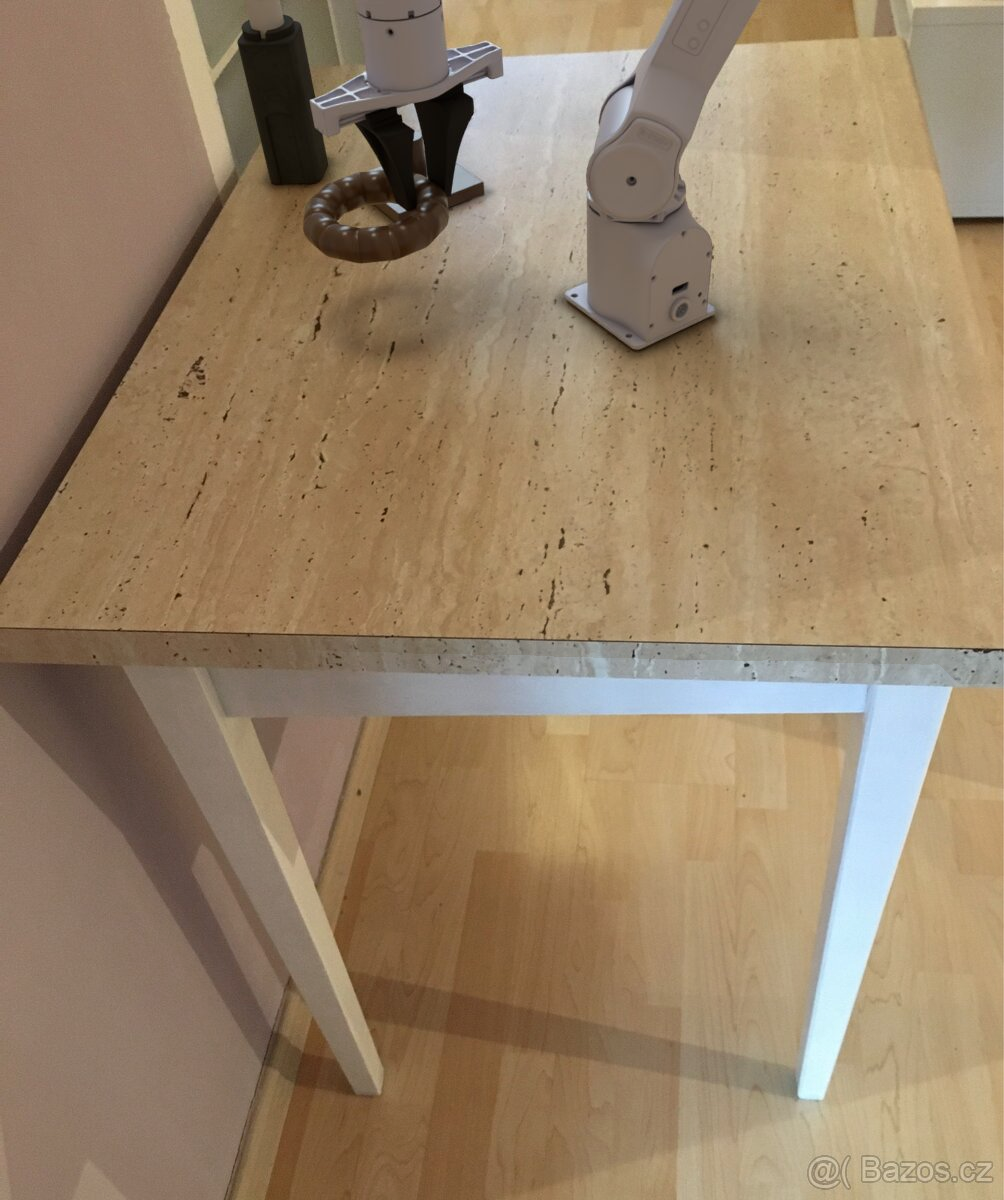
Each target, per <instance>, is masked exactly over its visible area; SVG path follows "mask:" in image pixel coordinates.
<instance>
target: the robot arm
mask: <svg viewBox="0 0 1004 1200" xmlns="http://www.w3.org/2000/svg"><path fill="white" fill-rule="evenodd" d="M760 2H761V0H674V1H673V2H672V4H671V6H670V8H669V10H668V12H667V14H666V16H665V18H664V20H663V22H662V23H661V26H660V28H659V30H658V32H657V34H656V36H655V38H654V40H653V42H652V43H651V44H650V45H649V46H648V47H647V48H646V49H645V51H644V52H643V53H642V55H641V56H640V59H639V60H638V62H637V64H636V66H635V68H634V70H633V71H632V72H631V74H630V75H629V76H628V77H627V78H626V79H624V80H623V81H622V82H620V83H619V84H617V86H615V87H614V88H613V89H612V90H611V91H610V92H609V93H608V94H607V95H606V97H605V99H604V100H603V102H602V105H601V108H600V111H599V117H598V130H597V134H596V137H595V138H596V139H595V143H594V147H593V152H592V154H591V155H590V157H589V159H588V163H587V167H586V170H585V171H586V172H585V173H586V174H585V180H586V181H585V182H586V187H587V188H586V282H584V283H581V284H579V285H577V286H575V287H572V288H570V289H568V290H565V291H564V299H565V300H566V301H568V302H569V303H570V304H572V305H573V306H574V307H576V308H577V309H578V310H580V311H581V312H582V313H584V314H585V315H587V317H589V318H591V319H592V320H593V321H594V322H596V323H597V324H598V325H600V326H601V327H602V328H604V329H605V330H606V331H608V332H609V333H611V334H612V335H614V336H615V337H616V338H617V339H618V340H620V341H621V342H622V343H624V344H625V345H627V346H628V347H629V348H631V349H632V350H635V351H639V350H641V349H642V350H643V349H644V348H646V347H649V346H650V345H652V344H655V343H657V342H658V341H661V340H663V339H666V338H667V337H669V336H672V335H674V334H676V333H678V332H680V331H682V330H684V329H687V328H688V327H691V326H692V325H695V324H698V323H699V322H701V321H703V320H706V319H708V318H710V317H712V316H714V315H715V314H716V308H715V307H714V306H713V305H712V304H710V303H709V295H710V284H711V273H712V263H713V261H712V260H713V252H714V251H713V241H712V237H711V236H710V233H709V232H708V231H707V230H706V229H705V227H703V226H702V225H701V224H700V223H699V222H698V221H697V219H696V218H695V217H694V215H693V214H692V212H691V210H690V208H689V204H688V201H687V197H686V196H687V185H686V181H685V180H684V179H682V177H681V174H680V163H681V159H682V157H683V154H684V153H685V150H686V148H687V147H688V145H689V143H690V142H691V139H692V137H693V135H694V133H695V129H696V126H697V124H698V122H699V119H700V115H701V113H702V110H703V107H704V105H705V102H706V99H707V97H708V95H709V92H710V91H711V88H712V86H713V85H714V83H715V81H716V80H717V78H718V77H719V75H720V72H721V71H722V69H723V68H724V65H725V64H726V62H727V60H728V58H730V57H729V56H730V55H731V53H732V51H733V50H734V48H735V46H736V44H737V42H738V41H739V39H740V37H741V36H742V34H743V32H744V30H745V29H746V27H747V25H748V23H749V21H750V20H751V18H752V16H753V15H754V13H755V11H756V9H757V7H758V6H759V4H760ZM354 3H355V9H356V14H357V21H358V27H359V35H360V42H361V47H362V53H363V60H364V66H365V71H363V72H362V73H359V74H358V75H357V76H355V77H353V78H351V79H349V80H348V81H346V82H344V83H342V84H341V85H339V86H337V87H336V88H334V89H332V90H331V91H328V92H327V93H324V94H322V95H319V96H318V97H315V98H314V99H311V100H310V106H311V111H312V116H313V121H314V126H315V128H316V129H317V130H319V131H320V132H321V133H322V134H323V136H326V137H327V138H330V137H334V136H337V135H340V134H341V129H342V128H346V127H348V126H351V125H353V124H354V125H355V126H356V128H357V129H358V130H359V132H360V133H361V134H362V136H363V137H364V139H365V140H366V142H367V144H368V145H369V146H370V148H371V150H372V151H373V153H374V155H375V157H376V159H377V161H378V162H379V164H380V166H382V168H383V170H384V172H385V175H386V177H387V179H388V182H389V184H390V187H391V189H392V192H393V195H394V198H395V201H396V203H397V204H398V205H400V206H401V207H402V208H404V209H405V210H406V211H408V212H410V211H413V210H416V202H417V196H416V189H415V182H414V176H413V140H414V133H415V132H416V130H415V129H414V128H412V127H411V126H410V125H408V124H406V123H405V122H403V115H402V114H399V113H398V109H400V108H403V107H406V106H408V105H410V104H413V106H414V110H415V114H416V116H417V121H418V124H419V129H420V133H421V134H422V138H423V145H424V151H425V160H426V169H427V176H428V179H429V180H430V181H432V182H433V183H434V184H436V185H437V186H439V187H440V188H441V189H442V190H443V191H444V192H445V194H446V196H447V197H449V196H451V193H452V185H453V178H454V172H455V166H456V163H457V161H458V156H459V152H460V148H461V145H462V142H463V139H464V136H465V132H466V130H467V128H468V126H469V124H470V122H471V120H472V118H473V116H474V115H475V104H474V103H475V102H474V97H472V96H471V95H469V94H468V93H466V92H465V86H466V85H468V84H471V83H474V82H477V81H480V80H482V79H486V78H488V79H489V80H496V79H499V78H502V77H504V76H505V75H504V63H503V62H504V61H503V49H502V48H501V47H500V46H498V45H496V44H494V43H492V42H490V41H488V40H484V41H481V42H478V43H474V44H470V45H464V46H459V47H458V46H457V47H453V48H452V47H451V48H448V46H447V36H446V26H445V25H446V24H445V16H444V7H443V5H444V4H443V0H354Z"/></svg>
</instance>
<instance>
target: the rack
mask: <svg viewBox="0 0 1004 1200" xmlns="http://www.w3.org/2000/svg"><path fill="white" fill-rule="evenodd" d="M378 170H383V168H382V166H381V165H380V166H378V167H375V168H372V169H370V170H367V171H366V172H368V171H378ZM413 173H415V174H420V175H422V176H424V177H426V178H427V179H428V176H427V169H426V160H425V151H424V143H423V138H422V133H421V131H415V133H414V140H413ZM484 194H485V183H484V181H483V180H482V179H481V178H479V177H477V176H476V175H474V174H473V173H472V172H470V171H469V170H467V168H464V167H463V166H462V165H460V164H458V163H457V162H456V166H455V172H454V178H453V185H452V193H451V196H449V197H447V200H448V209H449V208H451V207H454V206H456V205H459V204H463V203H464V202H467V201H470V200H472V199H475V198H477V197H480V196H482V195H484ZM373 206H375V207H376V208H377V209H379V210H380V211H381V212H382V213H384V214H385V215H386V216H387V217H388V218H390V219H391V220H392V221H393V222H394V223H395V222H397V221H400V220H402V219H405V218H407V217H409V216H410V215H411V214H412V213H413V212H414V211H415V210H413V211H410V212H408V211H406V210H405V209H404V208H402V207H401V206H400V205H398V204H394V203H384V204H374V205H373Z"/></svg>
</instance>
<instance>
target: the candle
mask: <svg viewBox="0 0 1004 1200" xmlns="http://www.w3.org/2000/svg"><path fill="white" fill-rule="evenodd" d="M244 3H245V7H246V11H247V15H248V20H246V21H245V22H243V23H242V25H241V34H240V35H239V37H238V38H237V41H236V44H237V48H238V51H239V55H240V60H241V64H242V68H243V73H244V77H245V81H246V85H247V89H248V93H249V97H250V102H251V106H252V110H253V114H254V118H255V122H256V126H257V131H258V135H259V140H260V143H261V147H262V151H263V157H264V160H265V165H266V168H267V173H268V177H269V181H270V182H271V183H272V184H274V185H280V186H281V185H283V184H285V185H289V184H290V185H291V184H293V185H294V184H295V185H296V184H306V185H312V184H316V183H318V182H320V181H321V180H322V179H323V176H324V174H325V172H326V170H327V167H328V166H329V161H328V155H327V150H326V146H325V145H326V143H325V140H324V134H322V133H321V132H320V131H319V130H317V129H316V128H315V126H314V121H313V116H312V111H311V106H310V100H311V99H314V98H316V93H315V88H314V83H313V77H312V73H311V67H310V62H309V58H308V53H307V47H306V41H305V37H304V31H303V27H302V24H301V23H300V22H299V21H297V20H294V18H293V17H291V16H290V15H287V14H283V9H282V4H281V0H244Z"/></svg>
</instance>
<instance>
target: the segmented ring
mask: <svg viewBox="0 0 1004 1200" xmlns="http://www.w3.org/2000/svg"><path fill="white" fill-rule="evenodd" d="M367 171H368V172H367ZM367 171H360V172H355V173H352V174H350V175H348V176H344V177H342V178H339V179H337V180H334V181H331V182H329V183H327V184H325V185H324V186H323V187H322V188H321V189H320V190H318V192H317V193H315V194H314V195H313V196H312V197H311V198H309V200H308V201H306V205H305V206H304V211H303V221H302V222H303V223H302V232H303V234H304V237H305V239H307V241H308V242H309V243H311V244H312V245H313V246H314V247H315V248H316V249H318V250H319V251H320V252H321V253H322V254H323V255H325V257H328V258H331V259H336V260H340V261H345V262H350V263H355V264H372V263H381V262H390V261H391V262H392V261H397V260H399V259H402V258H405V257H407V256H410V255H412V254H414V253H416V252H419V251H422V250H425V249H426V248H428V247H429V246H430V245H431V244H432V243H433V242H434V241H435V240H436V239H437V238H438V237H439V236H440V234H441V233H442V232H443V231H444V230H445V229H446V228H447V226H448V224H449V221H450V216H449V212H450V211H449V208H448V200H447V196H446V194H445V192H444V191H443V190H442V189H441V188H440V187H439V186H437V185H436V184H434V183H433V182H432V181H430V180H429V179H427V178H426V177H424V176H422V175H420V174H415V173H413V176H414V182H415V189H416V196H417V202H416V210H415V211H414V212H413V213H412V214H411V215H410V216H409V217H407V218H405V219H402V220H400V221H397V222H395V221H394V222H392V223H389V224H387V225H379V226H378V225H377V226H368V227H356V226H351V225H347V224H341V223H340V222H339V220H340V219H342V217H343V216H344V215H345V214H347V213H350V212H353V211H355V210H358V209H360V208H363V207H365V206H375V205H374V204H384V203H394V204H397V203H396V201H395V198H394V195H393V192H392V189H391V187H390V184H389V182H388V179H387V177H386V175H385V172H384V170H378V171H369V170H367Z"/></svg>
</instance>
